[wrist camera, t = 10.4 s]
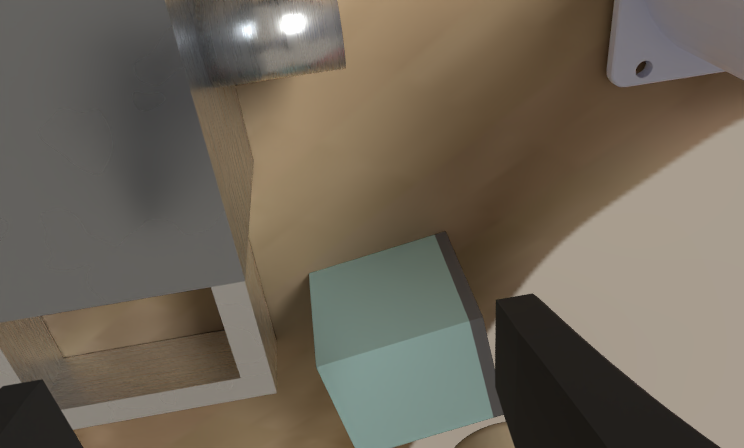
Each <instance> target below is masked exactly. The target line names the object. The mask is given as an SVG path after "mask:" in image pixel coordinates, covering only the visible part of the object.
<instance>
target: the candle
mask: <svg viewBox="0 0 744 448" xmlns="http://www.w3.org/2000/svg"><path fill="white" fill-rule="evenodd" d="M455 448H515V446H514V444H513V441H512V438H511V435H510V432H509V429H508V426H507V423H506V422H502V423H497V424H493V425H490V426H487V427H484V428H482V429H480V430H478V431H476V432H474V433H472V434H470V435H469V436H467V437H466V438H464V439H463V440H462V441H461V442H459V443H458V444H457V445H456V446H455Z"/></svg>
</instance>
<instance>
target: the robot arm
mask: <svg viewBox="0 0 744 448" xmlns="http://www.w3.org/2000/svg"><path fill="white" fill-rule="evenodd" d="M645 60H646V65H645V68H644V69H643V70H642V71H641V72H639V73H637V74H636V68H637V66H638V65H639V64H640V63H641V62H643V61H645ZM719 72H728V73H730V74H732V75H734V76H736V77H738V78H740V79H742V80H744V0H614V8H613V17H612V26H611V35H610V44H609V53H608V62H607V77H608V79H609V80H610V82H612V83H613V84H615V85H617V86H618V87H630V86H636V85H643V84H649V83H656V82H662V81H668V80H675V79H681V78H688V77H694V76H700V75H707V74H713V73H719ZM495 346H496V347H495V349H496V350H495V388H496V391H497V394H498V398H499V401H500V404H501V407H502V410H503V413H504V417H505V420H506V423H507V426H508V429H509V432H510V435H511V438H512V441H513V444H514V446H515V448H720V447H719V446H718V445H716V444H715V443H713V442H712V441H711V440H709V439H708V438H706V437H705V436H704V435H702V434H701V433H699V432H698V431H697V430H695V429H694V428H693V427H691V426H690V425H689V424H687V423H686V422H685V421H683V420H682V419H681V418H679V417H678V416H677V415H675V414H674V413H673V412H671V411H670V410H669V409H667V408H666V407H665V406H664V405H662V404H661V403H660V402H659V401H657V400H656V399H654V398H653V397H652V396H651V395H650V394H648V393H647V392H646V391H645V390H643V389H642V388H641V387H640V386H639V385H637V384H636V383H635V382H634V381H633V380H631V379H630V378H629V377H628V376H626V375H625V374H624V373H623V372H622V371H620V370H619V369H618V368H617V367H615V366H614V365H613V364H612V363H611V362H609V361H608V360H607V359H606V358H605V357H604V356H602V355H601V354H600V353H599V352H598V351H597V350H596V349H595V348H593V347H592V346H591V345H590V344H589V343H588V342H587V341H585V340H584V339H583V338H582V337H581V336H579V335H578V333H576V332H575V331H574V330H573V329H572V328H571V327H570V326H569V325H568V324H566V323H565V322H564V321H563V320H562V319H561V318H560V317H559V316H558V315H557V314H556V313H554V312H553V311H552V310H551V309H550V308H549V307H548V306H547V305H546V304H545V303H544V302H542V301H541V300H540V299H539V298H538V297H537V296H535V295H534V294H527V295H522V296H516V297H510V298H505V299H499V300H496V344H495ZM0 448H83V446H82V445H81V443H80V441H79V440H78V438H77V436H76V435H75V433H74V431H73V430H72V428H71V426H70V424H69V423H68V421H67V419H66V418H65V416H64V414H63V413H62V411H61V409H60V408H59V406H58V404H57V403H56V401H55V399H54V398H53V396H52V394H51V393H50V391H49V389H48V387H47V386H46V384H45V382H44V381H43V379H41V380H35V381H29V382H24V383H18V384H12V385H6V386H2V387H1V388H0Z"/></svg>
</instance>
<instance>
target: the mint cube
mask: <svg viewBox="0 0 744 448" xmlns="http://www.w3.org/2000/svg"><path fill="white" fill-rule="evenodd" d="M309 281H310V294H311V307H312V320H313V333H314V346H315V359H316V368H317V370H318V372H319V374H320V376H321V378H322V380H323V383H324V385H325V387H326V389H327V391H328V393H329V395H330V397H331V399H332V401H333V403H334V405H335V407H336V410H337V412H338V414H339V416H340V418H341V420H342V422H343V424H344V426H345V428H346V430H347V432H348V435H349V437H350V439H351V441H352V443H353V445H354V447H355V448H392V447H396V446H399V445H403V444H406V443H409V442H413V441H416V440H419V439H423V438H426V437H430V436H433V435H436V434H440V433H443V432H446V431H450V430H453V429H457V428H460V427H463V426H467V425H470V424H474V423H477V422H480V421H484V420H487V419H490V418H494V417H497V416H501V415H504V413H503V410H502V407H501V404H500V401H499V398H498V394H497V391H496V388H495V368H494V363H493V359H492V355H491V350H490V346H489V342H488V338H487V333H486V329H485V325H484V320H483V316H482V314H481V312H480V310H479V307H478V305H477V303H476V300H475V298H474V296H473V293H472V291H471V289H470V287H469V284H468V282H467V280H466V277H465V275H464V273H463V270H462V268H461V266H460V264H459V261H458V259H457V257H456V254H455V252H454V250H453V247H452V245H451V243H450V241H449V238H448V236H447V234H446V231H445V232H442V233H439V234H435V235H432V236H429V237H426V238H422V239H419V240H416V241H413V242H409V243H406V244H403V245H400V246H396V247H393V248H390V249H387V250H383V251H380V252H377V253H374V254H370V255H367V256H364V257H361V258H357V259H354V260H351V261H348V262H344V263H341V264H338V265H335V266H331V267H328V268H325V269H322V270H319V271H315V272H312V273H309Z"/></svg>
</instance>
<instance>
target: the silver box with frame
mask: <svg viewBox="0 0 744 448" xmlns="http://www.w3.org/2000/svg"><path fill="white" fill-rule="evenodd" d="M345 68H346V62H345V51H344V43H343V35H342V28H341V21H340V14H339V8H338V2H337V0H0V388H1V387H2V386H6V385H12V384H18V383H24V382H29V381H35V380H41V379H43V381H44V382H45V384H46V386H47V387H48V389H49V391H50V393H51V394H52V396H53V398H54V399H55V401H56V403H57V404H58V406H59V408H60V409H61V411H62V413H63V414H64V416H65V418H66V419H67V421H68V423H69V424H70V426H71V428H72V430H74V429H80V428H85V427H91V426H96V425H102V424H108V423H113V422H119V421H124V420H130V419H135V418H141V417H147V416H152V415H158V414H163V413H169V412H174V411H180V410H186V409H191V408H197V407H202V406H208V405H213V404H219V403H224V402H230V401H236V400H241V399H247V398H252V397H258V396H263V395H269V394H275V393H277V341H276V337H275V334H274V330H273V326H272V323H271V319H270V315H269V311H268V308H267V304H266V300H265V297H264V293H263V289H262V285H261V282H260V278H259V274H258V271H257V267H256V263H255V259H254V256H253V252H252V248H251V245H250V241H249V237H248V234H249V219H250V205H251V190H252V175H253V157H252V153H251V149H250V145H249V141H248V137H247V133H246V128H245V124H244V120H243V116H242V112H241V108H240V104H239V100H238V96H237V91H236V87H235V85H239V84H246V83H252V82H259V81H266V80H272V79H279V78H285V77H292V76H299V75H305V74H312V73H319V72H325V71H332V70H338V69H345ZM208 287H211V289H212V292H213V295H214V298H215V301H216V304H217V307H218V311H219V314H220V317H221V320H222V323H223V326H224V329H225V330H222V331H217V332H211V333H205V334H199V335H194V336H188V337H182V338H176V339H170V340H165V341H159V342H153V343H147V344H142V345H136V346H130V347H124V348H118V349H113V350H107V351H101V352H95V353H90V354H84V355H78V356H72V357H66V358H63V356H62V354H61V352H60V350H59V349H58V347H57V345H56V343H55V341H54V340H53V338H52V336H51V334H50V332H49V331H48V329H47V327H46V325H45V323H44V321H43V320H42V318H41V316H43V315H49V314H55V313H60V312H66V311H72V310H78V309H84V308H90V307H96V306H102V305H108V304H114V303H120V302H126V301H131V300H137V299H143V298H149V297H155V296H161V295H167V294H173V293H179V292H185V291H191V290H197V289H203V288H208Z"/></svg>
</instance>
